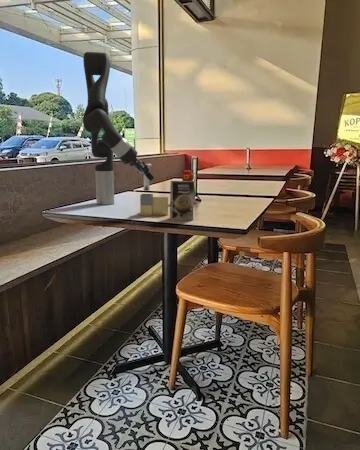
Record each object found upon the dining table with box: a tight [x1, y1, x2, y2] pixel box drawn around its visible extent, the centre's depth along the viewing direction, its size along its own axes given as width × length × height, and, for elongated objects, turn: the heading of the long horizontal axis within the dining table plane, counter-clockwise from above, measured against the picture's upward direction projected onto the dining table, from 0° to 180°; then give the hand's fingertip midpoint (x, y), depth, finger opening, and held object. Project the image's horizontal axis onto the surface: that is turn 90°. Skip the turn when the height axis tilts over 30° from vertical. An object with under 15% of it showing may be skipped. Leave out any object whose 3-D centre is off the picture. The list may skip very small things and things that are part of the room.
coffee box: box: [169, 180, 195, 222], centre depth 153 cm, size 9×6×16 cm
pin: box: [142, 163, 153, 191], centre depth 161 cm, size 5×5×12 cm
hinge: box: [139, 193, 169, 217], centre depth 167 cm, size 12×12×9 cm
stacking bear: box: [180, 169, 197, 205], centre depth 198 cm, size 11×10×18 cm
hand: (150, 178), depth 162 cm, fingers closed on pin, 2 cm apart
